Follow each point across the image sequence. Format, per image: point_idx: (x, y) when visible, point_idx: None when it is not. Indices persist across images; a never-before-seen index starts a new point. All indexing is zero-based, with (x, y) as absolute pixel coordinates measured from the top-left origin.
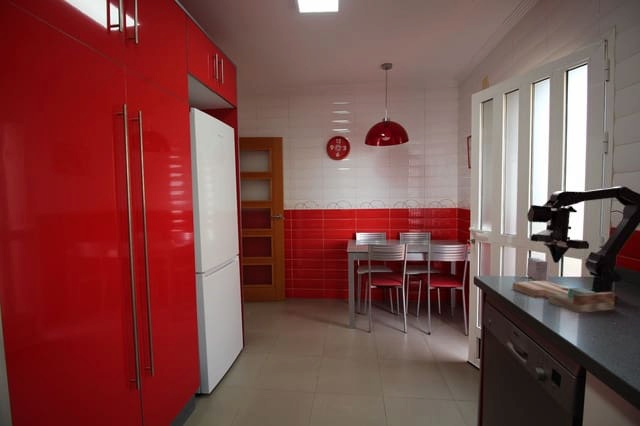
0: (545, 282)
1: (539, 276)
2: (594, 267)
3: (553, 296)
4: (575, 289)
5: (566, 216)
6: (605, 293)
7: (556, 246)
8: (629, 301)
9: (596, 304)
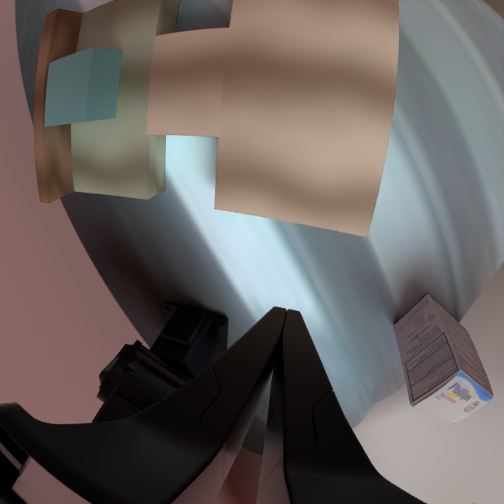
0: (338, 193)
1: (420, 318)
2: (131, 381)
3: None
4: (76, 66)
5: None
6: (36, 156)
7: (50, 467)
8: (137, 320)
9: None
